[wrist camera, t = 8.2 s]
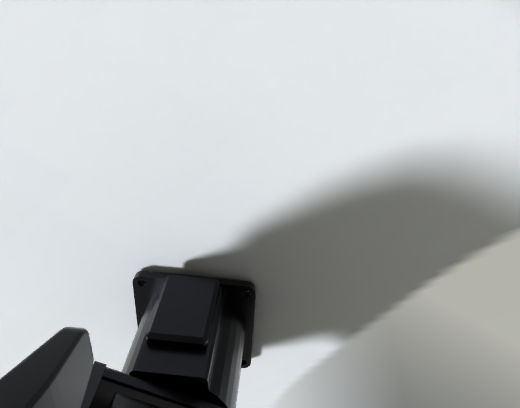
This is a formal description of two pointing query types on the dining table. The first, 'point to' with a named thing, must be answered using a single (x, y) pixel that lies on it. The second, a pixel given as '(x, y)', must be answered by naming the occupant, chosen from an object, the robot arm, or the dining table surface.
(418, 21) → the dining table surface
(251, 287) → the robot arm
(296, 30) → the dining table surface
